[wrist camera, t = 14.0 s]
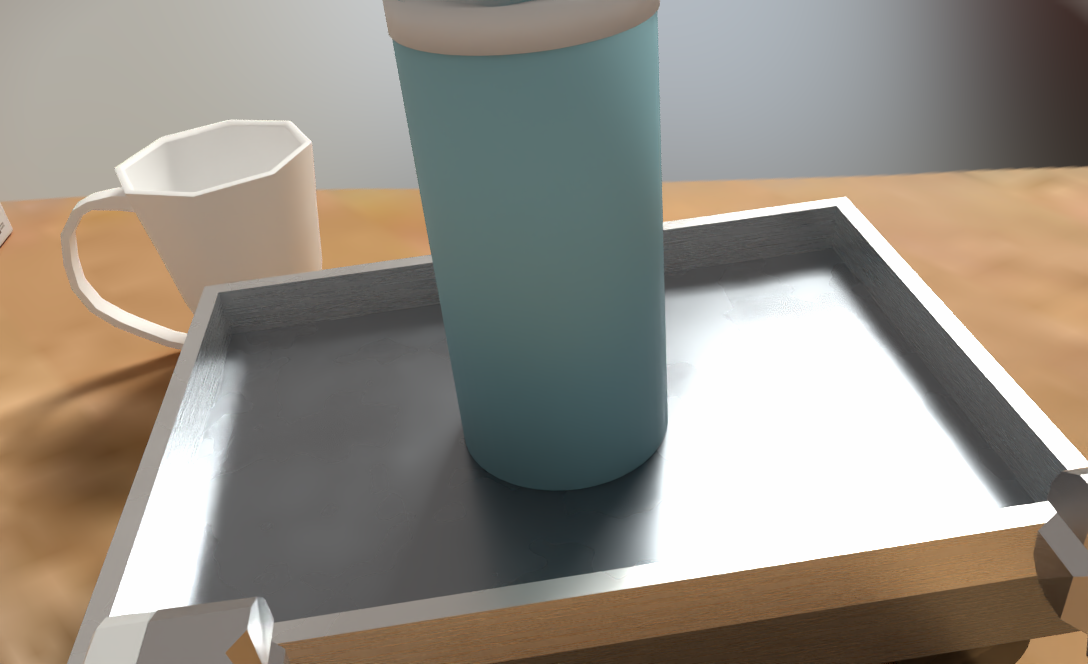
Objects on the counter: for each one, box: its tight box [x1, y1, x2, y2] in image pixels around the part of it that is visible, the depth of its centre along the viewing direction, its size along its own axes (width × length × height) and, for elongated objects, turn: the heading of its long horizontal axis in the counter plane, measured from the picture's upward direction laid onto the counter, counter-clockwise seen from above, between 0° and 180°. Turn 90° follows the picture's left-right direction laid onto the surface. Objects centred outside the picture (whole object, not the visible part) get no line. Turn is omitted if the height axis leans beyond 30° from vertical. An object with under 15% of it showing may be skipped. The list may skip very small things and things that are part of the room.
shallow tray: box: [67, 197, 1088, 664], centre depth 25 cm, size 20×14×6 cm
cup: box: [61, 120, 322, 350], centre depth 36 cm, size 7×10×8 cm
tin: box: [383, 0, 668, 491], centre depth 21 cm, size 5×5×11 cm
